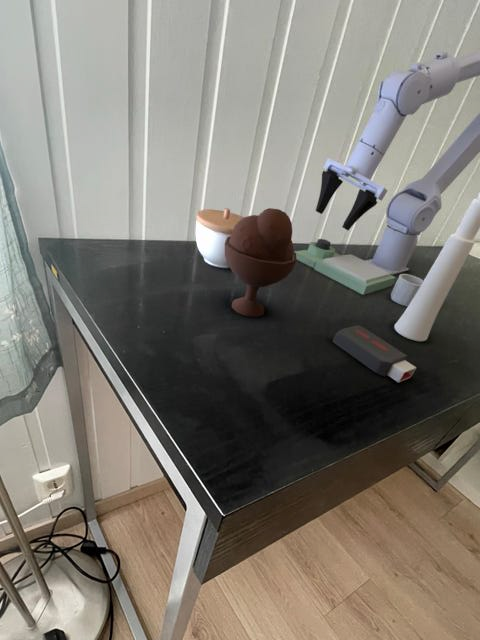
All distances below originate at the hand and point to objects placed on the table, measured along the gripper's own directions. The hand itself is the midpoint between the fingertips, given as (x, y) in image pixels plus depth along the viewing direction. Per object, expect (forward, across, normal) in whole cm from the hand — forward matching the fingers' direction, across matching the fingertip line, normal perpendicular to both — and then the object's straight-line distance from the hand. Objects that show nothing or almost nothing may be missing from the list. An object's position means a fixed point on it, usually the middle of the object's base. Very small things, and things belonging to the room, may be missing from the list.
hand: (331, 220), depth 81 cm
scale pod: (+8, 0, +4) cm, 9 cm away
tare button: (+6, 0, +3) cm, 6 cm away
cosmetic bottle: (+8, +30, -9) cm, 32 cm away
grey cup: (+6, +22, +4) cm, 23 cm away
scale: (+7, +10, +3) cm, 13 cm away
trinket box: (+15, -6, -22) cm, 27 cm away
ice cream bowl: (+16, +11, -31) cm, 36 cm away
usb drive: (+12, +31, -24) cm, 41 cm away
